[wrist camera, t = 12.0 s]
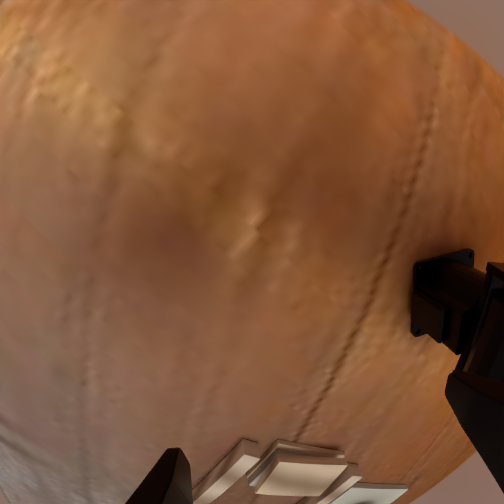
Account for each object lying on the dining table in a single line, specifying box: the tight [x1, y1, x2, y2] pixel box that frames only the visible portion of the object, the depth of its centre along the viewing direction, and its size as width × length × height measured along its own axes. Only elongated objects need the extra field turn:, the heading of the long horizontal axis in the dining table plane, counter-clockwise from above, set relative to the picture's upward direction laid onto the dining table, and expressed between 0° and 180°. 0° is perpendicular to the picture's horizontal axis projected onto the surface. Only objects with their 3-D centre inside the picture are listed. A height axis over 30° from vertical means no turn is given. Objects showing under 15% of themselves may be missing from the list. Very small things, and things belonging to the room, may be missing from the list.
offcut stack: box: [246, 439, 348, 496], centre depth 25 cm, size 7×8×3 cm
